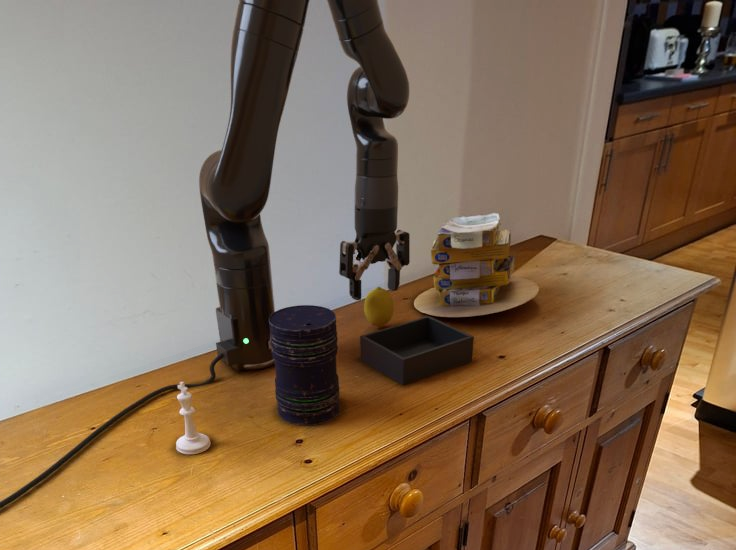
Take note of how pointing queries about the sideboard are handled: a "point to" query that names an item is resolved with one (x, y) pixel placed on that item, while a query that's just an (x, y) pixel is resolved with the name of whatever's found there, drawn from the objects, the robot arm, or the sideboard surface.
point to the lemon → (378, 307)
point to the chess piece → (190, 427)
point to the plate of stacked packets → (473, 270)
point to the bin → (416, 349)
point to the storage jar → (305, 364)
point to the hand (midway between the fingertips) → (374, 294)
